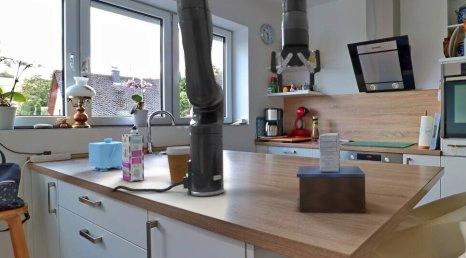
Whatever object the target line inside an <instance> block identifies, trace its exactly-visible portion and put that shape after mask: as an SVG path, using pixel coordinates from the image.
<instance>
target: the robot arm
mask: <svg viewBox="0 0 466 258" xmlns="http://www.w3.org/2000/svg"><path fill="white" fill-rule="evenodd" d="M175 4H176V15H177V22H178V24H177V25H178V29H179V35H180V42H181V49H182V53H183V59H184V81H185V82H184V85H185V86H184V87H185V90H184V91H185V97H186V100H187V101H188V103H189V104H190V105H191V106H192V117H191V121H190V123H189V146H190V160H189V161H188V162H187V172H188V174H187V176H186V177H184V178H183V181H180V182H177V183H171V184H170V185H169V186H168V187H166V188H132V187H129V186H126V185H117V186H115V187H114V188H112V190H111V192H113V193H114V192H116V191H117V190H120V189H122V190H125V191H128V192H131V193H165V192H168V191H171V190H172V189H173V188H175V187H178V186H181V185H182V186H183V187H182V189H183V190H187V195H189V196H196V197H210V196H216V195H220V194H223V193H224V191H225V187H224V186H225V184H224V182H225V181H224V135H223V132H224V131H223V129H224V122H225V96H224V90H223V88H222V86H221V84H220V83H218V82H217V81H216V76H215V72H214V71H215V70H214V67H213V60H212V49H213V41H214V26H213V25H214V24H213V17H212V10H211V9H212V8H211V6H210V5H211V4H210V0H175ZM309 29H310V26H309V17H308V0H282V21H281V30H282V31H281V39H282V41H281V45H282V49H281V51H280V52H278V51H275V50H272V51H271V53H270V72H271V73H272V74H273V75H276V77H277V79H276V80H277V86H278V87H279V89H284V76H283V74H284V72H285V71H286V70H287V69H288V67H290V68H295V67H298V68H301V67H303V66H304V68H305V69H306V70H307V71H308V72H309V88H313V86H315V83H316V82H315V81H316V79H315V78H316V77H315V75H316V74H317V73H320V72H321V70H322V66H321V51H320V49H315V50H312V51H311V50H310V49H309V48H310V47H309V46H310V44H309V43H310V41H309V40H310V38H309V36H310V35H309ZM280 57H281V59H282V60H283V61H282V63H281V64H280V66H279V68H277V61H278V60H279V59H280ZM311 57H312V58H313V60H315V67H314V68H313V67H312V65H311V63H309V61H308V60H309V59H310V58H311Z"/></svg>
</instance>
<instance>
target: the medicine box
mask: <svg viewBox="0 0 466 258" xmlns="http://www.w3.org/2000/svg"><path fill="white" fill-rule="evenodd" d="M318 148H319V149H318V150H319V152H318V153H319V166H320V171H321V172H339V168H340V166H341V155H340V153H341V152H340V151H341V150H340V148H341V147H340V133H337V132H336V133H334V132H333V133H331V132H329V133H322V134H320V135H319V136H318Z"/></svg>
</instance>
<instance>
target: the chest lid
mask: <svg viewBox="0 0 466 258" xmlns="http://www.w3.org/2000/svg"><path fill="white" fill-rule="evenodd" d="M299 177H363V178H365V179H366V173H365V172H364V171H363V170H362V169H361V168H360V167H359V166H358V165H340V168H339V172H321V171H320V165H299V166H298V169H297V172H296V178H299Z"/></svg>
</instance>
